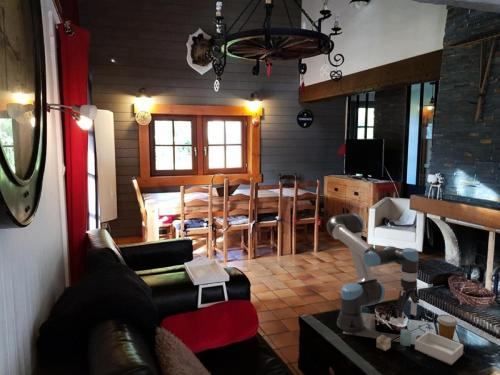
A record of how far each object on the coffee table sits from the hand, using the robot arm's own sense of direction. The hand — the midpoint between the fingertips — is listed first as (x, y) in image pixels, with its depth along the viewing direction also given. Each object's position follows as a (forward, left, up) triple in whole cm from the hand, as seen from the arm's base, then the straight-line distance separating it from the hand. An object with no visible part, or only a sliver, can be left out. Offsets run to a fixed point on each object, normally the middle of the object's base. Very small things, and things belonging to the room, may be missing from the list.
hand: (407, 318), depth 198 cm
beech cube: (-6, -11, -14) cm, 19 cm away
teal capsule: (0, 0, -14) cm, 14 cm away
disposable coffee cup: (+12, +20, -14) cm, 27 cm away
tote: (+14, +6, -14) cm, 21 cm away
